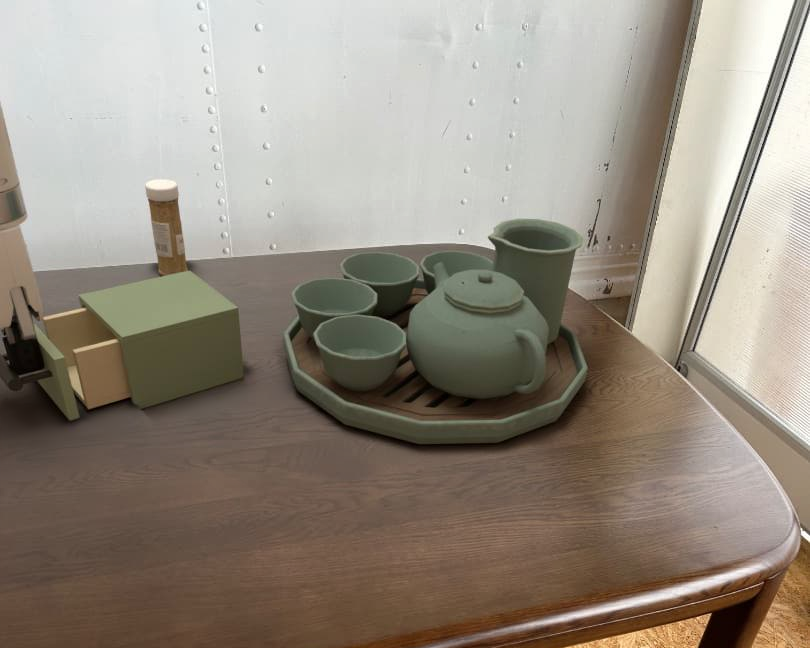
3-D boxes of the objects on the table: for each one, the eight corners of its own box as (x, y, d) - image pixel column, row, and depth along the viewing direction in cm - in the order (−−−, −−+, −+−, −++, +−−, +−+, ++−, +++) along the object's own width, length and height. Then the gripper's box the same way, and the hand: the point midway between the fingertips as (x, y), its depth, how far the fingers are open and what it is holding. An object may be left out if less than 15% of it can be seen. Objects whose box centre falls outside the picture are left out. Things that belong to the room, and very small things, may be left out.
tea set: (395, 279, 127) (401, 170, 116) (626, 359, 111) (658, 243, 100) (219, 373, 101) (205, 246, 90) (487, 495, 86) (510, 359, 75)
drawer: (26, 433, 87) (7, 371, 82) (-7, 388, 94) (-27, 328, 88) (179, 388, 96) (170, 329, 91) (139, 349, 103) (129, 292, 98)
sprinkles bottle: (193, 274, 123) (183, 184, 114) (168, 281, 121) (155, 190, 112) (178, 264, 126) (166, 176, 117) (152, 271, 123) (138, 181, 114)
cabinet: (135, 411, 94) (121, 337, 87) (94, 366, 101) (78, 294, 94) (244, 377, 101) (238, 307, 94) (198, 338, 108) (189, 270, 102)
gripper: (-80, 184, 79) (-27, 349, 91) (-36, 235, 71) (15, 409, 83) (-2, 174, 83) (39, 334, 95) (48, 222, 74) (86, 390, 87)
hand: (28, 369), depth 89 cm, fingers closed
